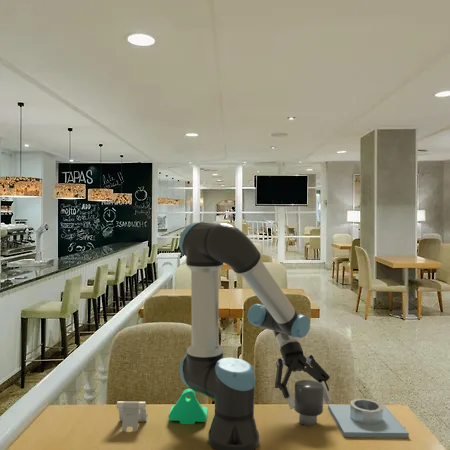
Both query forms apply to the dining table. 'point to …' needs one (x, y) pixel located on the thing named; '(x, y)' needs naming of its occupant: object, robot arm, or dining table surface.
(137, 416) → the portable electronic device stand
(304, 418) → the dome-topped grey cylinder
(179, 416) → the camera mount
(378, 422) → the pale grey faceted ring
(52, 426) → the dining table surface
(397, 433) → the board
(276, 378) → the robot arm
